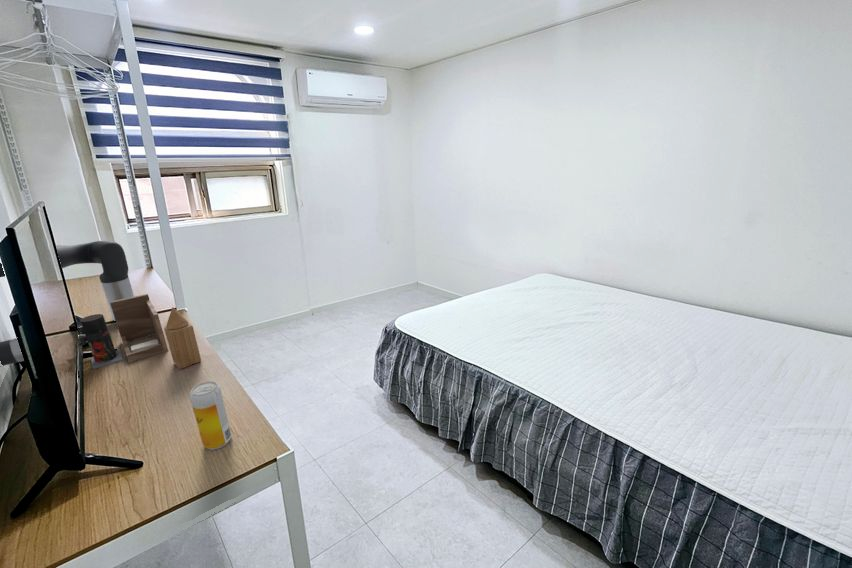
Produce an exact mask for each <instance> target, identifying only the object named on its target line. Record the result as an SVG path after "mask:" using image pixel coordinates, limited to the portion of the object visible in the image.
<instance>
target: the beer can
mask: <svg viewBox="0 0 852 568" xmlns="http://www.w3.org/2000/svg"><path fill="white" fill-rule="evenodd" d="M189 399H190V404H191V406H192V409H193V413H194V417H195V420H196V424H197V428H198V431H199V435H200V439H201V443H202V446H203V447H204V448H205V449H208V450H211V451H214V450H219V449H221V448H223V447H224V446H226V445H228V443H229V441H230V439H232V431H231V426H230V422H229V420H228V414H227V411H226V410H227V409H226V407H225V403H224V398H223V394H222V389H221V387H220V386H219V384H218V383H217V382H216V381H210V380H209V381H205V382H201V383H199V384H196V385H195V386H194V387H192V388H191V390H190V395H189Z"/></svg>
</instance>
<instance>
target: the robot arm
mask: <svg viewBox="0 0 852 568" xmlns="http://www.w3.org/2000/svg"><path fill="white" fill-rule="evenodd" d="M56 248H57V252H58V256H59V259H60V262H61V267H62V269H65V268H68V267H70V266H74V265H81V264H100V265H101V266H102V270H103V272H102V273H101V274H99V281H100V283H101V287H102V290H103V292H104V296H105V299H106V301H107V306H108V309H109V311H110V314H111V318H112V320H114V321H116V320H115V317H114V314H113V311H112V308H111V305H110V302H111V301H116V300H120V299H125V298H130V297H134V296H135V294H134V290H133V287H132V284H131V280H130V278H129V266H128V265H129V264H128V261H127V257H126V252H125V250H124V248H123V247H122V245H121V244H120V243H118V242H115V241H111V240H110V241H109V240H108V241H107V240H98V241H97V240H96V241H91V242H87V243H80V244H74V245H60V244H58V245H56ZM4 277H5V274H4V271H3V268H2V264H1V263H0V278H4ZM114 321H113V322H114ZM76 325H77V329H78V340H80V344H79V345H80V346H79V347H81V346H85V345H86V344H87V343H88V340H93V339H97V338H101V337H103V334H102V331H95V332H91V333H87V335H86V334H85V333H84V330H83V327H82V325H81V323H79V324H76ZM16 338H17V337H15V338H12V339H8V340H7V339H6V340H2V341H0V361H1V364H2V365H3V366H7V365H11V364H15V363H20V362H25V361H24V359H23V356H22V352H21V349H20V347H19V344H18V341H17V339H16ZM3 366H2V367H3Z"/></svg>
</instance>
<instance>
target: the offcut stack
mask: <svg viewBox="0 0 852 568" xmlns="http://www.w3.org/2000/svg"><path fill="white" fill-rule="evenodd" d="M156 345H160V342H159V340H158V338H156V339H152V340H149V341H145V342H141V343H138V344H134V345H131V346H130V352H131V353H132V352H135V351H139V350H142V349H146V348H149V347H153V346H156Z"/></svg>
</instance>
